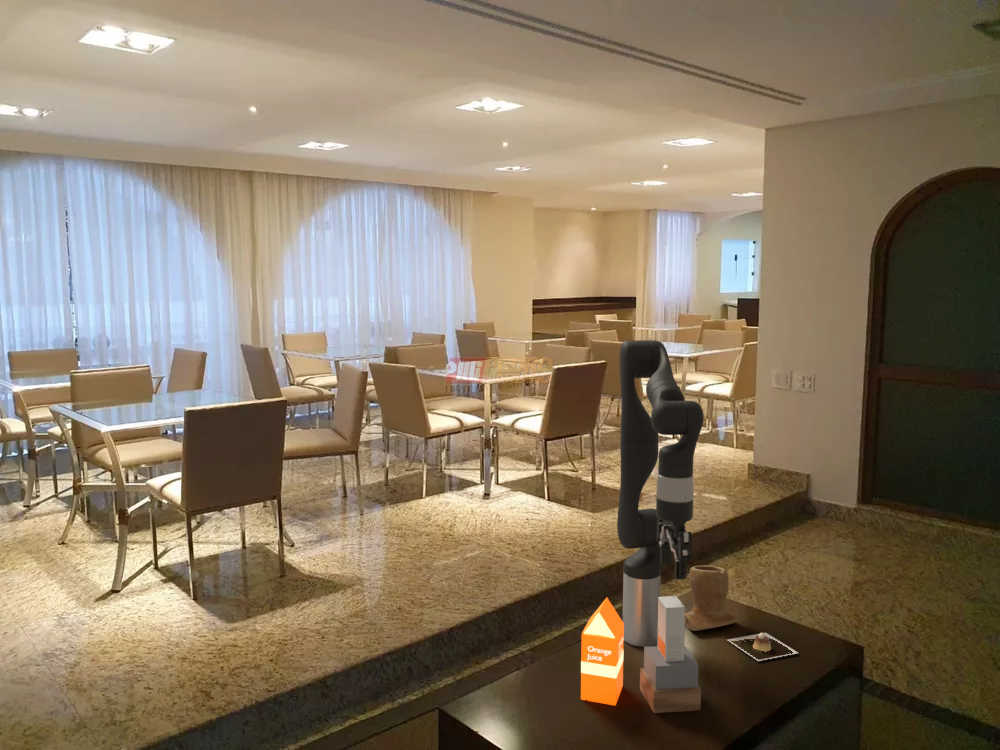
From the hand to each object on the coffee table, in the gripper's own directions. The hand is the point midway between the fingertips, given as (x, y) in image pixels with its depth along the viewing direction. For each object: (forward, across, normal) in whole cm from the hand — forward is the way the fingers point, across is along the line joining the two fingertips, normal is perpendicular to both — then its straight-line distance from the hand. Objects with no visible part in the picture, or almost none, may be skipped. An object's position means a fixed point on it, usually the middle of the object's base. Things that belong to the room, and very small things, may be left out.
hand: (672, 571), depth 160 cm
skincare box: (+19, 0, 0) cm, 19 cm away
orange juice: (+29, +5, +14) cm, 32 cm away
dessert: (+29, +20, -31) cm, 47 cm away
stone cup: (+29, +36, -23) cm, 51 cm away
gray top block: (+24, 0, 0) cm, 24 cm away
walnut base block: (+29, 0, 0) cm, 29 cm away
